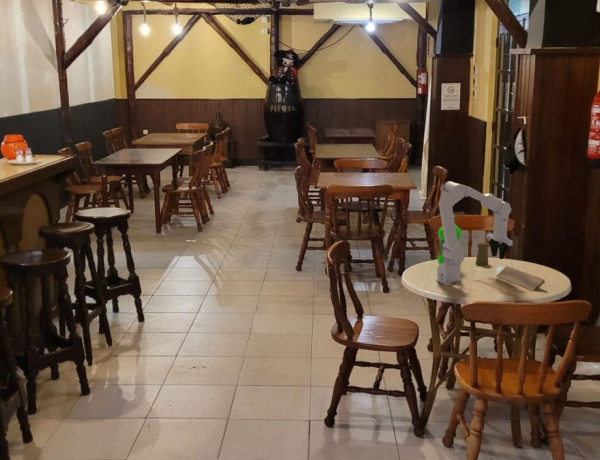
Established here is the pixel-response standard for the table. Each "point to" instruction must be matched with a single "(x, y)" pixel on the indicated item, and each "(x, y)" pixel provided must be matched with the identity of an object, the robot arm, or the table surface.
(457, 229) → the plastic bottle
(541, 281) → the loose plank
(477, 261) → the olive tapered tower
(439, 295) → the table surface
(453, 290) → the table surface
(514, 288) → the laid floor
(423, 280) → the table surface
